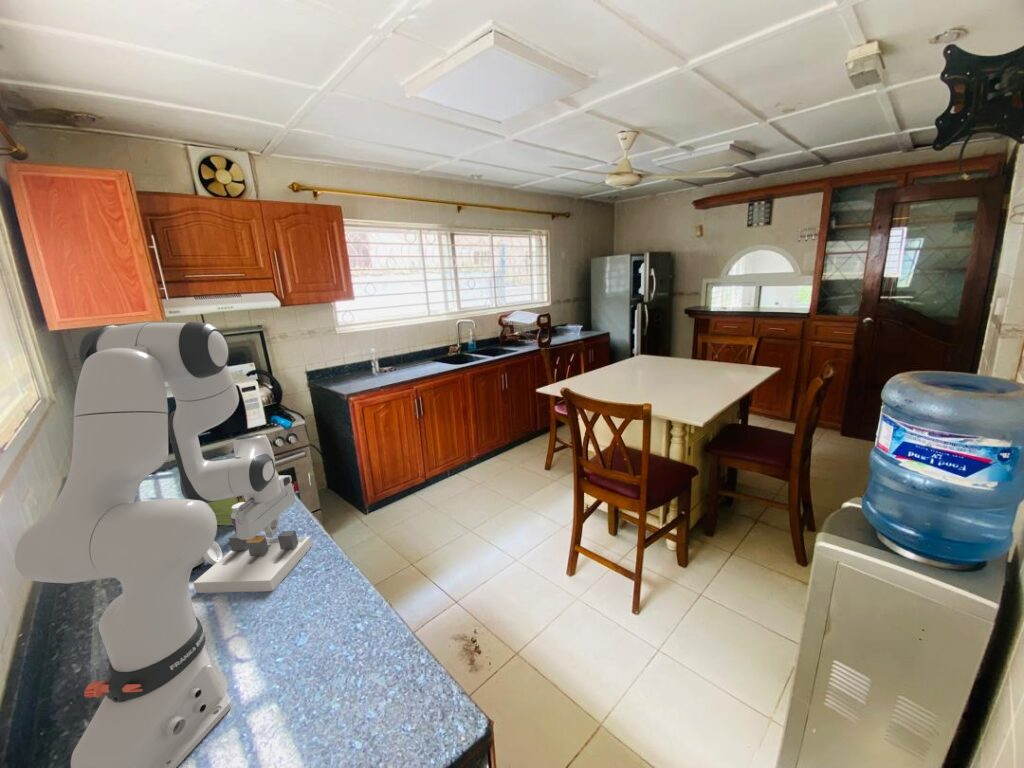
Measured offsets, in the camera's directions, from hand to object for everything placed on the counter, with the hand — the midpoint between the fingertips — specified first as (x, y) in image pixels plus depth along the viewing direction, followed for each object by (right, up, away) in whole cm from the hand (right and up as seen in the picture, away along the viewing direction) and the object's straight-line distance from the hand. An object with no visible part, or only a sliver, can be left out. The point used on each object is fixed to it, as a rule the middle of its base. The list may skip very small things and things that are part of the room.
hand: (272, 534), depth 116 cm
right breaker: (+7, -2, -4) cm, 8 cm away
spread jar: (-19, -8, -3) cm, 21 cm away
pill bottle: (-15, -4, +11) cm, 19 cm away
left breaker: (-7, -3, -3) cm, 8 cm away
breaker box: (0, -7, -6) cm, 9 cm away
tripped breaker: (0, -3, -6) cm, 6 cm away
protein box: (-27, -3, +22) cm, 35 cm away
